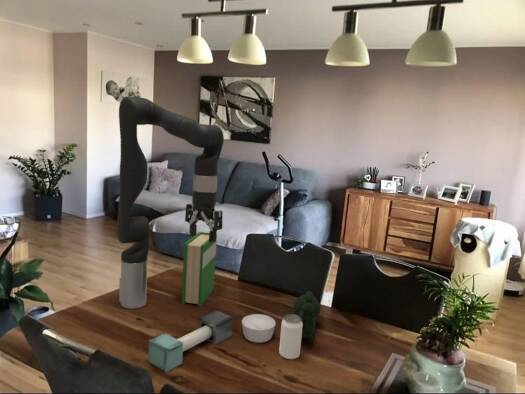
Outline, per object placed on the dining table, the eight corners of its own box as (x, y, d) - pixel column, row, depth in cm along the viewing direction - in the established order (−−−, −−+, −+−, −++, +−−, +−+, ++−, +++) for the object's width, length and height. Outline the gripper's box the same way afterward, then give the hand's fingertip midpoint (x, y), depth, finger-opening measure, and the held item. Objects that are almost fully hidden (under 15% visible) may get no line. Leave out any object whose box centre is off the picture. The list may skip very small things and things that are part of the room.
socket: (148, 361, 121) (148, 340, 120) (164, 353, 126) (165, 333, 124) (166, 372, 116) (166, 350, 115) (182, 363, 121) (183, 342, 120)
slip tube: (160, 356, 122) (161, 343, 121) (213, 329, 140) (213, 318, 139) (170, 361, 120) (170, 348, 119) (222, 334, 137) (222, 322, 136)
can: (298, 361, 126) (302, 324, 124) (277, 357, 128) (280, 321, 125) (300, 350, 133) (304, 315, 131) (280, 347, 134) (283, 312, 132)
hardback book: (200, 306, 158) (203, 245, 154) (181, 304, 159) (184, 243, 155) (213, 289, 175) (216, 233, 171) (196, 286, 176) (199, 231, 172)
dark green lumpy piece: (318, 355, 134) (318, 314, 158) (324, 302, 129) (323, 268, 153) (289, 351, 135) (293, 311, 159) (293, 298, 130) (297, 265, 154)
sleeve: (198, 336, 137) (199, 317, 136) (215, 327, 143) (216, 309, 142) (215, 344, 132) (216, 325, 131) (231, 335, 139) (233, 317, 138)
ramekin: (235, 339, 136) (236, 324, 136) (248, 325, 147) (249, 311, 146) (267, 348, 133) (269, 332, 132) (278, 332, 143) (279, 318, 142)
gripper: (180, 186, 132) (178, 236, 135) (213, 193, 124) (210, 246, 127) (197, 184, 138) (195, 232, 141) (229, 191, 130) (226, 241, 133)
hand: (202, 239), depth 134 cm, fingers open, 8 cm apart
